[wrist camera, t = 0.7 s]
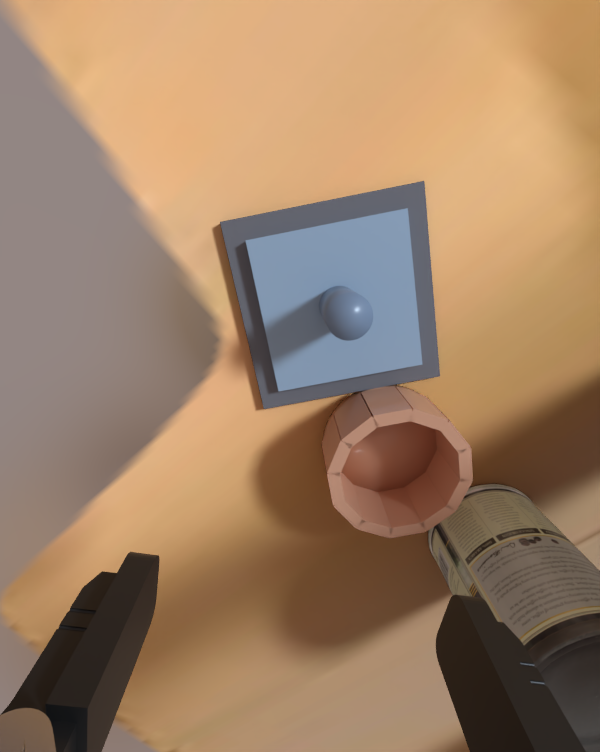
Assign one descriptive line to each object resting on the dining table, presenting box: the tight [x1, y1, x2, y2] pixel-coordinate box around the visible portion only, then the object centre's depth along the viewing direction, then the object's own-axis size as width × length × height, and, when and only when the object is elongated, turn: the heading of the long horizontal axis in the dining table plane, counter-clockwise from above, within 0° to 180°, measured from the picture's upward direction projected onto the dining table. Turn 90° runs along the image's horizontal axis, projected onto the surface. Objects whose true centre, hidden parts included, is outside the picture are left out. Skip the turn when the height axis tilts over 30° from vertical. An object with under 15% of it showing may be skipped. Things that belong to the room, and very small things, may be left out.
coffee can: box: [428, 484, 600, 752], centre depth 29 cm, size 10×10×14 cm
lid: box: [245, 208, 422, 391], centre depth 26 cm, size 11×11×6 cm
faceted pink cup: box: [322, 385, 473, 538], centre depth 30 cm, size 10×10×6 cm
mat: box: [220, 181, 440, 409], centre depth 29 cm, size 14×14×1 cm
